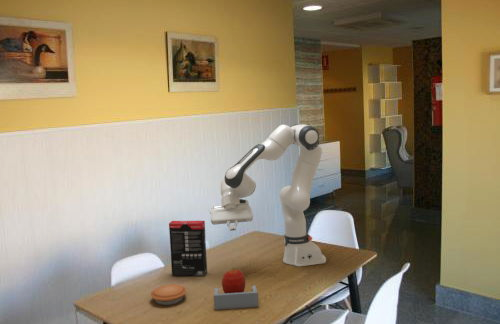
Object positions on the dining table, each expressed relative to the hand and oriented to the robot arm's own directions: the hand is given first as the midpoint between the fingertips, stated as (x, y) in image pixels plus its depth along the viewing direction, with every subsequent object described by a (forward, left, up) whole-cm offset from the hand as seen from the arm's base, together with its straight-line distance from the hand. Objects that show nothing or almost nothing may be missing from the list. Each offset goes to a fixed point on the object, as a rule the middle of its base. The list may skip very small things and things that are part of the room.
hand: (232, 229), depth 220 cm
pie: (+29, +19, -24) cm, 43 cm away
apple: (+1, +24, -24) cm, 34 cm away
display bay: (0, +24, -24) cm, 34 cm away
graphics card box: (+22, -10, -24) cm, 34 cm away
